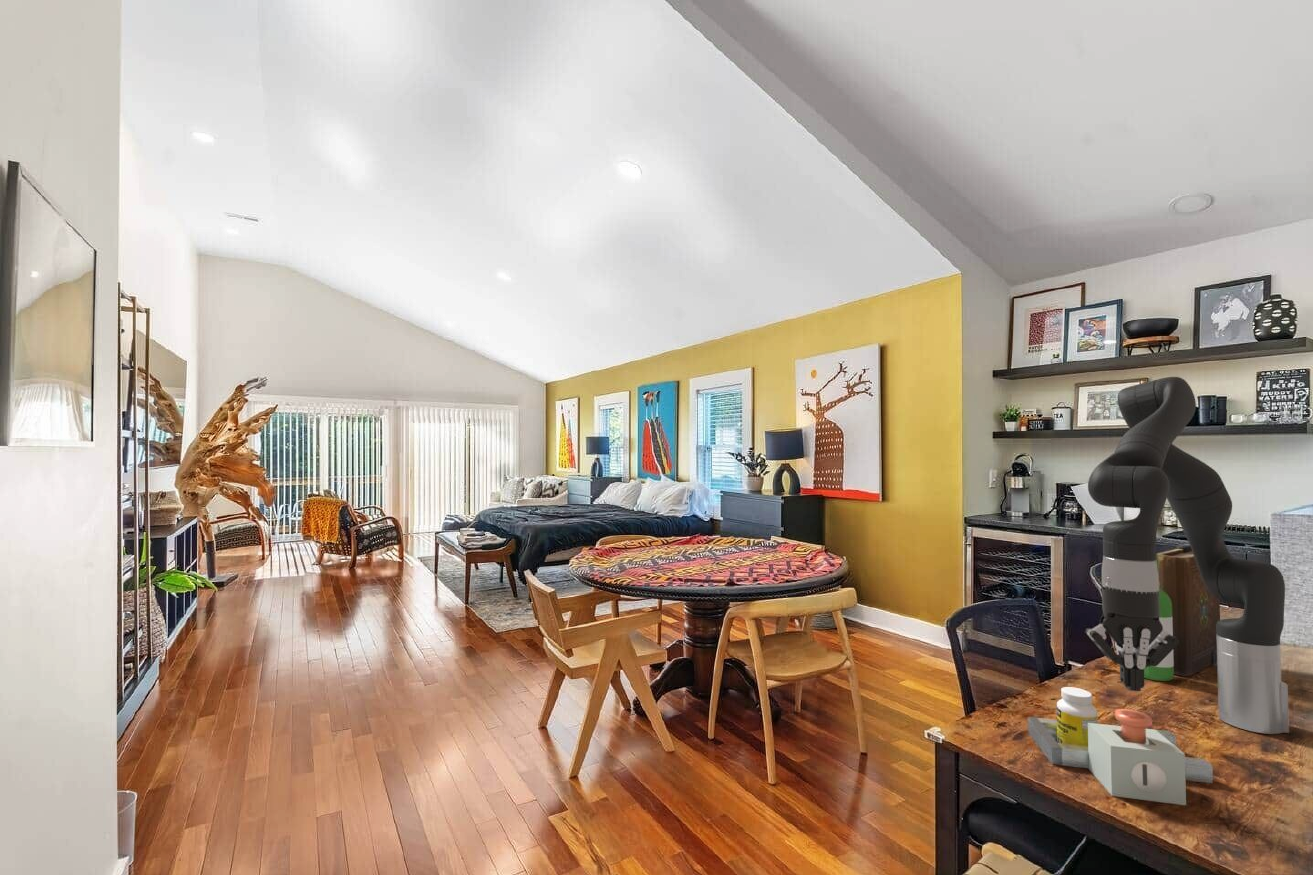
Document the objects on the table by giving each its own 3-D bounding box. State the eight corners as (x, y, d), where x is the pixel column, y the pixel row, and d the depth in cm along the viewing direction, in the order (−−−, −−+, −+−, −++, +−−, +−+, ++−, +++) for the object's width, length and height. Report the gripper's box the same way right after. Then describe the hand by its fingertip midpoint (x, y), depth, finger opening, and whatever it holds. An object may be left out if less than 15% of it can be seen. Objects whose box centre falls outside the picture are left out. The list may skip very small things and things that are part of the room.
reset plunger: (1142, 734, 100) (1142, 710, 100) (1158, 748, 95) (1158, 723, 95) (1109, 730, 101) (1109, 707, 101) (1123, 744, 96) (1123, 719, 96)
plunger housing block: (1156, 776, 101) (1155, 729, 101) (1188, 807, 92) (1186, 755, 92) (1088, 768, 103) (1087, 722, 103) (1113, 797, 95) (1112, 747, 95)
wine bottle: (1162, 684, 140) (1159, 558, 141) (1125, 673, 147) (1123, 553, 148) (1181, 679, 143) (1178, 555, 144) (1144, 668, 150) (1141, 550, 151)
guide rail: (1170, 747, 111) (1169, 731, 111) (1212, 783, 99) (1212, 765, 99) (1028, 732, 117) (1027, 716, 117) (1052, 764, 105) (1051, 746, 105)
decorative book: (1188, 653, 162) (1185, 543, 162) (1223, 661, 155) (1220, 547, 156) (1153, 670, 149) (1151, 551, 150) (1190, 679, 143) (1187, 555, 144)
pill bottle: (1049, 744, 112) (1048, 685, 112) (1079, 742, 113) (1078, 684, 113) (1075, 761, 106) (1073, 699, 106) (1107, 759, 106) (1105, 697, 107)
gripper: (1164, 582, 101) (1166, 684, 100) (1075, 578, 104) (1076, 676, 104) (1191, 592, 93) (1193, 702, 93) (1094, 587, 97) (1096, 693, 96)
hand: (1132, 688), depth 98 cm, fingers closed
